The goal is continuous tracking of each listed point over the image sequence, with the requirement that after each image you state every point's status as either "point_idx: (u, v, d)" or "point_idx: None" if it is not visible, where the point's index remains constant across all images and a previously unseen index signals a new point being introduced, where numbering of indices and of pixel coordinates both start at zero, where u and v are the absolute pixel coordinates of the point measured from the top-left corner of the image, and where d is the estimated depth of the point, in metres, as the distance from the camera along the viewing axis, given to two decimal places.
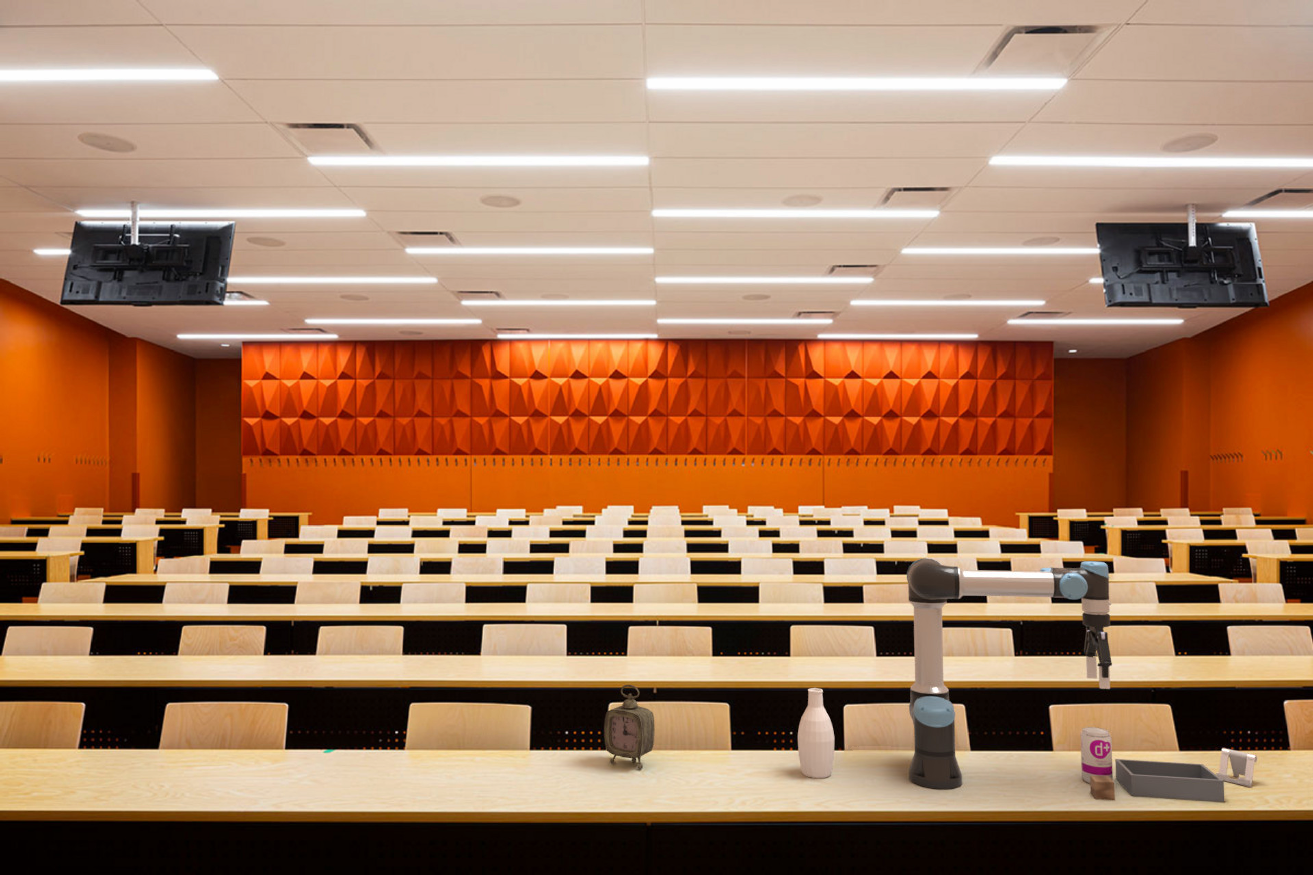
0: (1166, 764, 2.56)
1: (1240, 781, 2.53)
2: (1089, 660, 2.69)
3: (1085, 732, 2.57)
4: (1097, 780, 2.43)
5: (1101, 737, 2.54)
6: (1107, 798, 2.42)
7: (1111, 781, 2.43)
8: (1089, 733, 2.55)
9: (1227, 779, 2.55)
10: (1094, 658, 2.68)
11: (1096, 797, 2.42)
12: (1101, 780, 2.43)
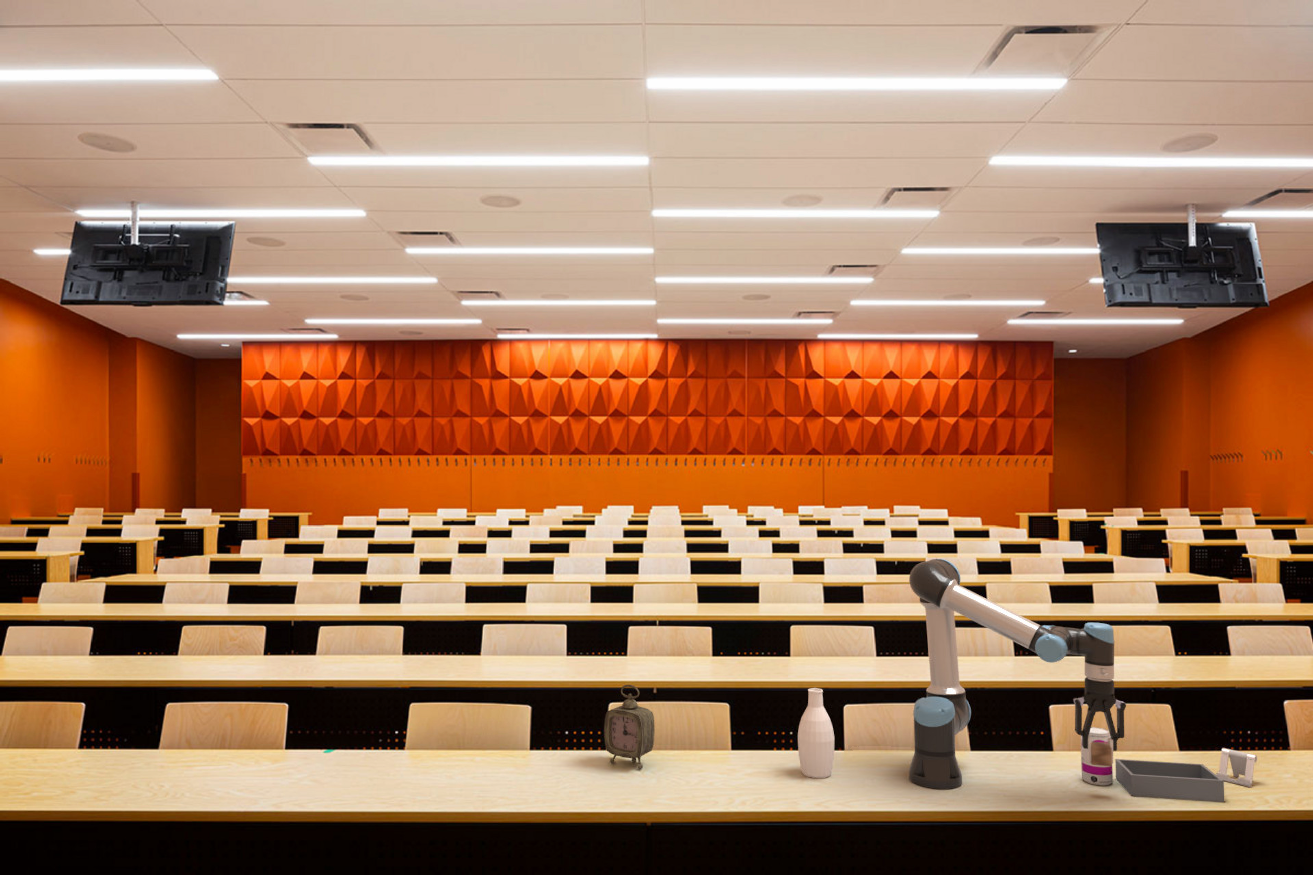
0: (1166, 764, 2.56)
1: (1240, 781, 2.53)
2: (1108, 741, 2.45)
3: None
4: (1094, 746, 2.44)
5: (1101, 737, 2.54)
6: (1104, 763, 2.43)
7: (1108, 747, 2.43)
8: (1089, 733, 2.55)
9: (1227, 779, 2.55)
10: (1109, 740, 2.44)
11: (1093, 762, 2.43)
12: (1098, 746, 2.44)
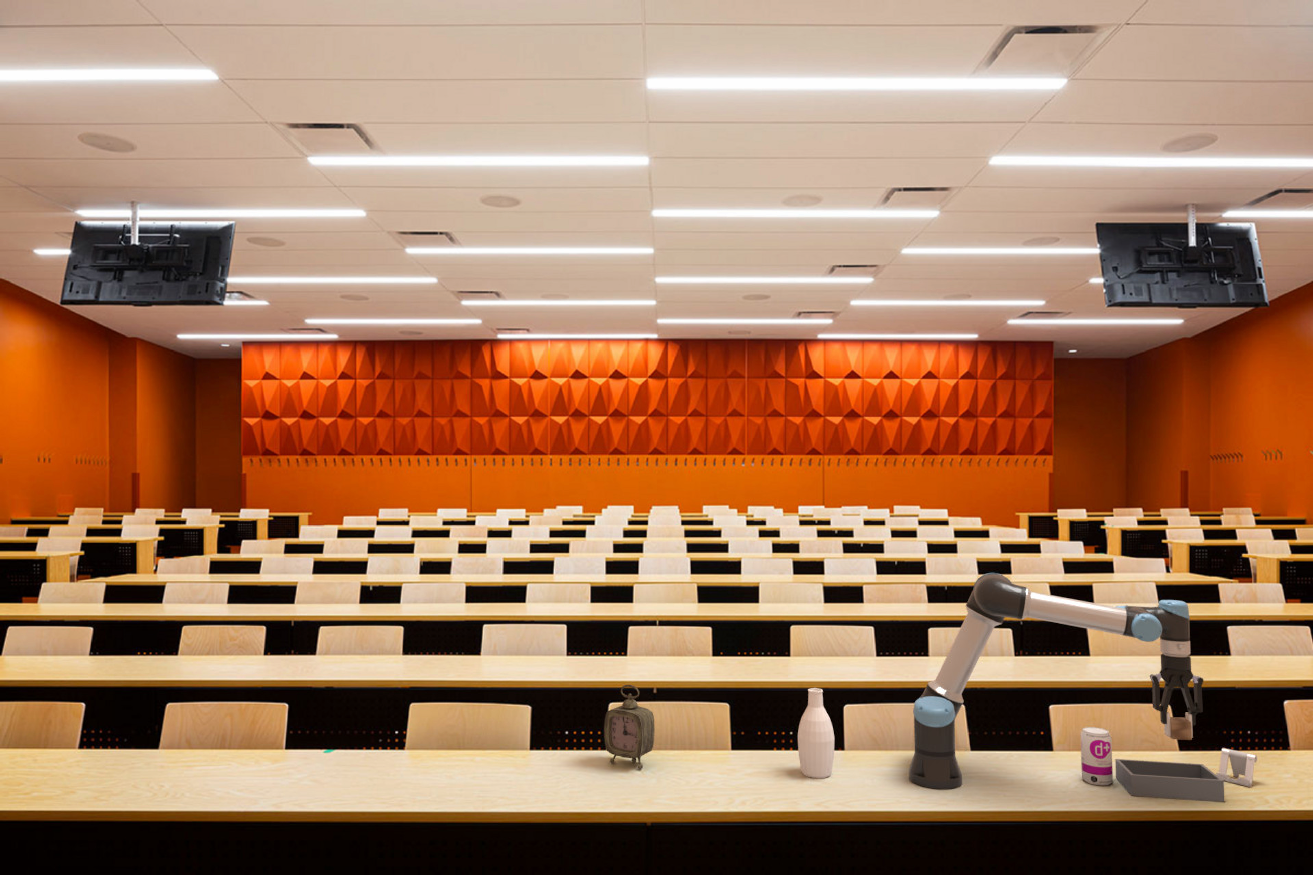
0: (1166, 764, 2.56)
1: (1240, 781, 2.53)
2: (1186, 716, 2.49)
3: (1085, 732, 2.57)
4: (1173, 720, 2.48)
5: (1101, 737, 2.54)
6: (1184, 738, 2.46)
7: (1187, 721, 2.47)
8: (1089, 733, 2.55)
9: (1227, 779, 2.55)
10: (1188, 715, 2.48)
11: (1173, 737, 2.47)
12: (1177, 720, 2.48)
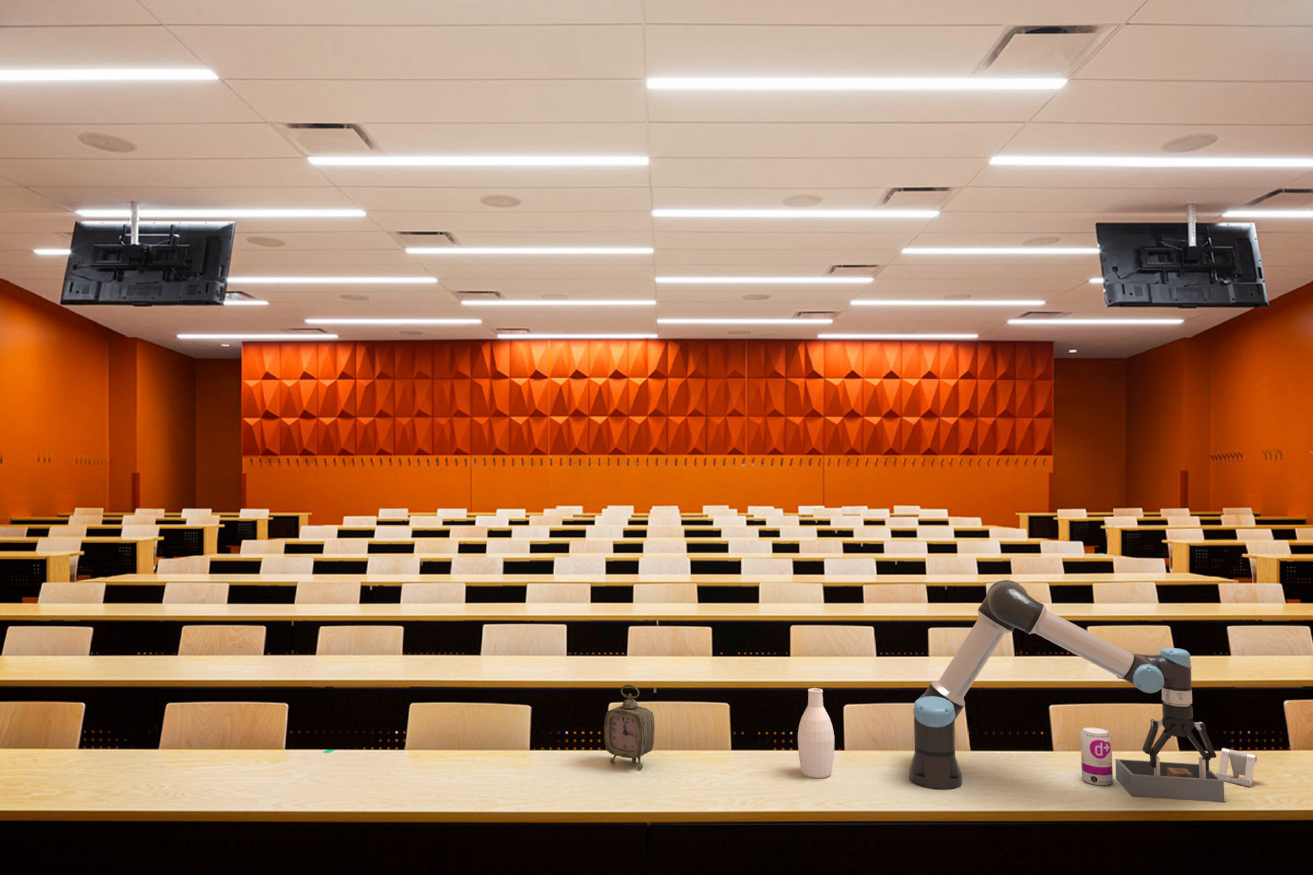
0: (1166, 764, 2.56)
1: (1240, 781, 2.53)
2: (1199, 761, 2.48)
3: (1085, 732, 2.57)
4: (1175, 772, 2.47)
5: (1101, 737, 2.54)
6: None
7: (1189, 773, 2.46)
8: (1089, 733, 2.55)
9: (1227, 779, 2.55)
10: (1201, 760, 2.47)
11: None
12: (1179, 772, 2.47)
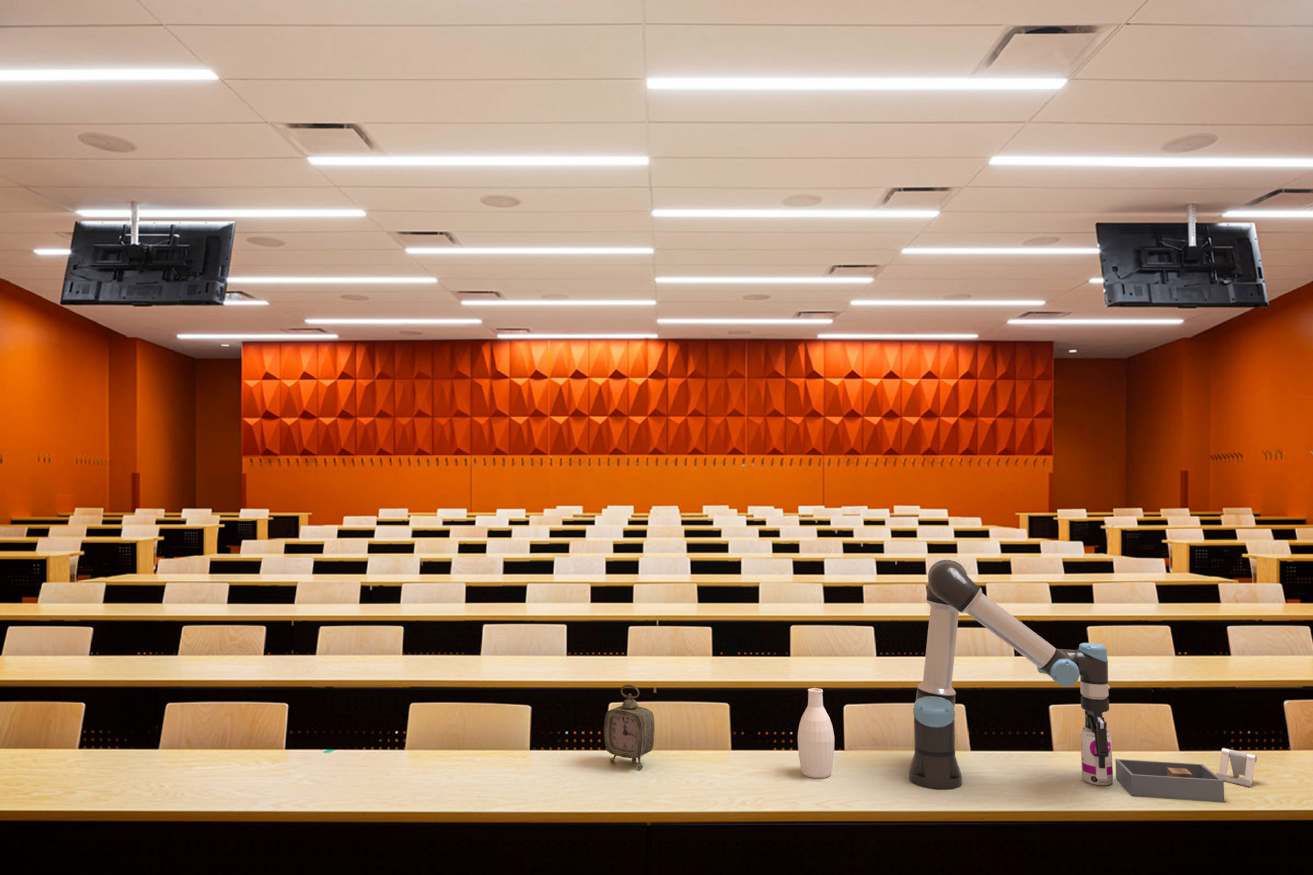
0: (1166, 764, 2.56)
1: (1240, 781, 2.53)
2: None
3: (1085, 732, 2.57)
4: (1175, 772, 2.47)
5: None
6: None
7: (1189, 773, 2.46)
8: (1089, 733, 2.55)
9: (1227, 779, 2.55)
10: None
11: None
12: (1179, 772, 2.47)
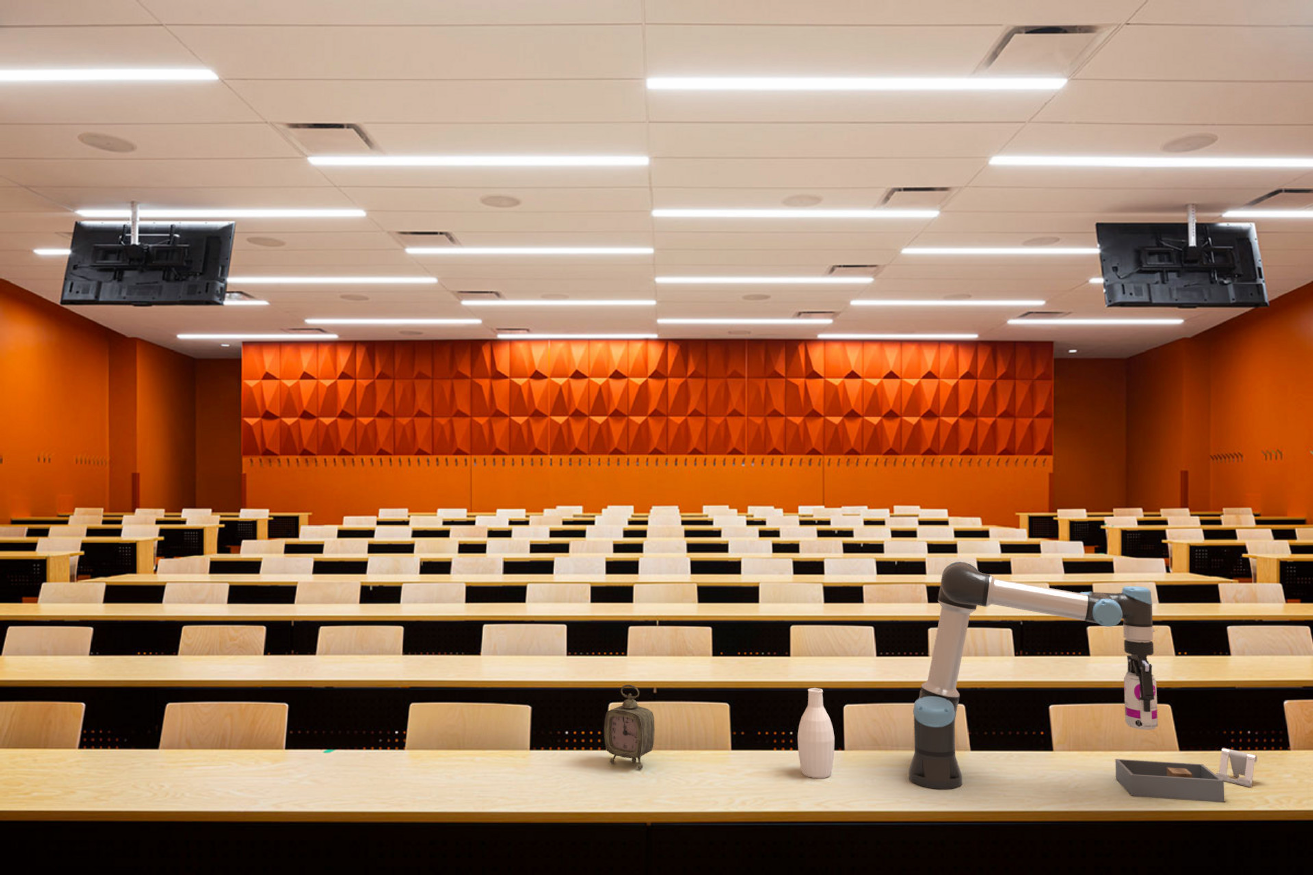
0: (1166, 764, 2.56)
1: (1240, 781, 2.53)
2: None
3: (1129, 676, 2.52)
4: (1175, 772, 2.47)
5: None
6: None
7: (1189, 773, 2.46)
8: (1133, 677, 2.51)
9: (1227, 779, 2.55)
10: None
11: None
12: (1179, 772, 2.47)
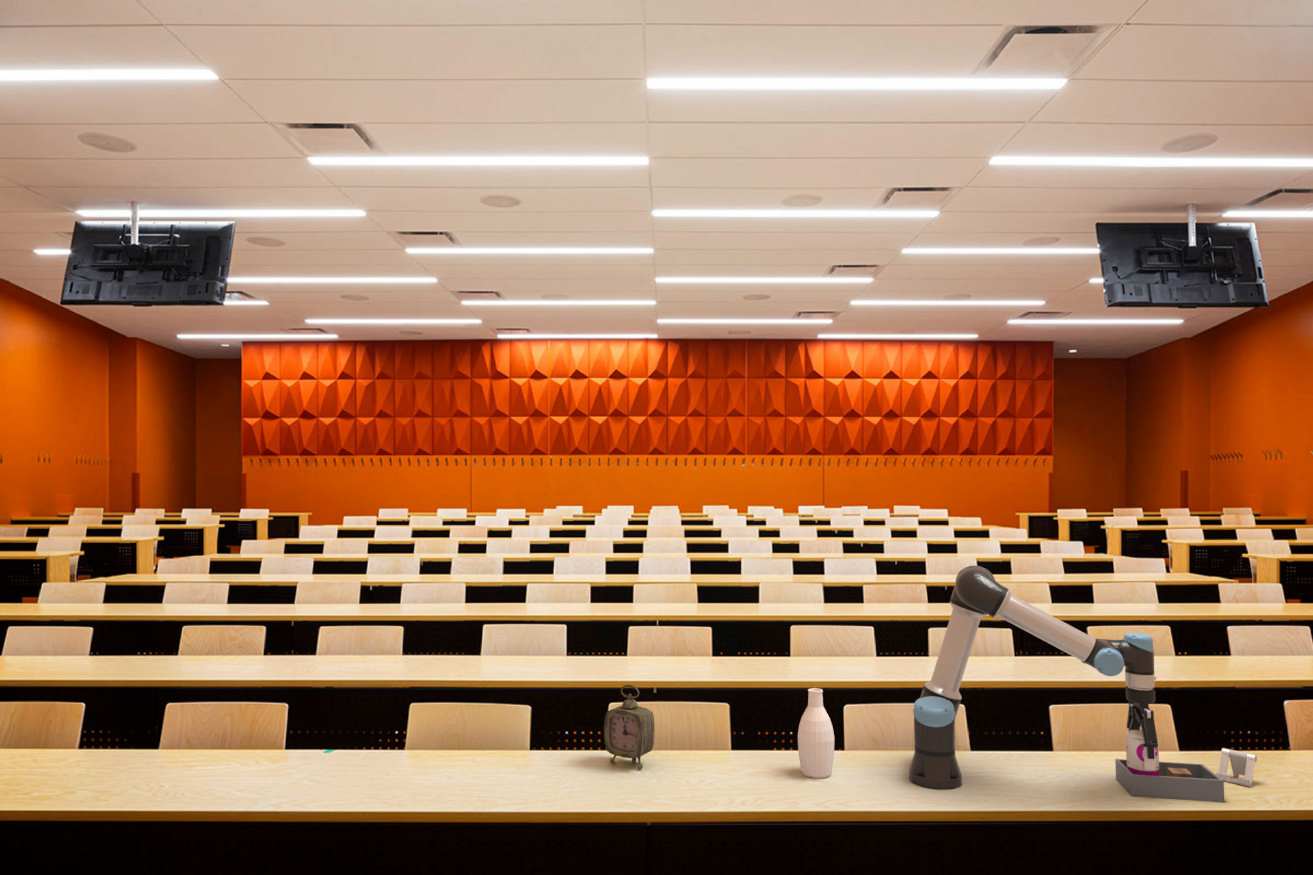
0: (1166, 764, 2.56)
1: (1240, 781, 2.53)
2: None
3: (1131, 735, 2.50)
4: (1175, 772, 2.47)
5: None
6: None
7: (1189, 773, 2.46)
8: (1136, 736, 2.49)
9: (1227, 779, 2.55)
10: None
11: None
12: (1179, 772, 2.47)
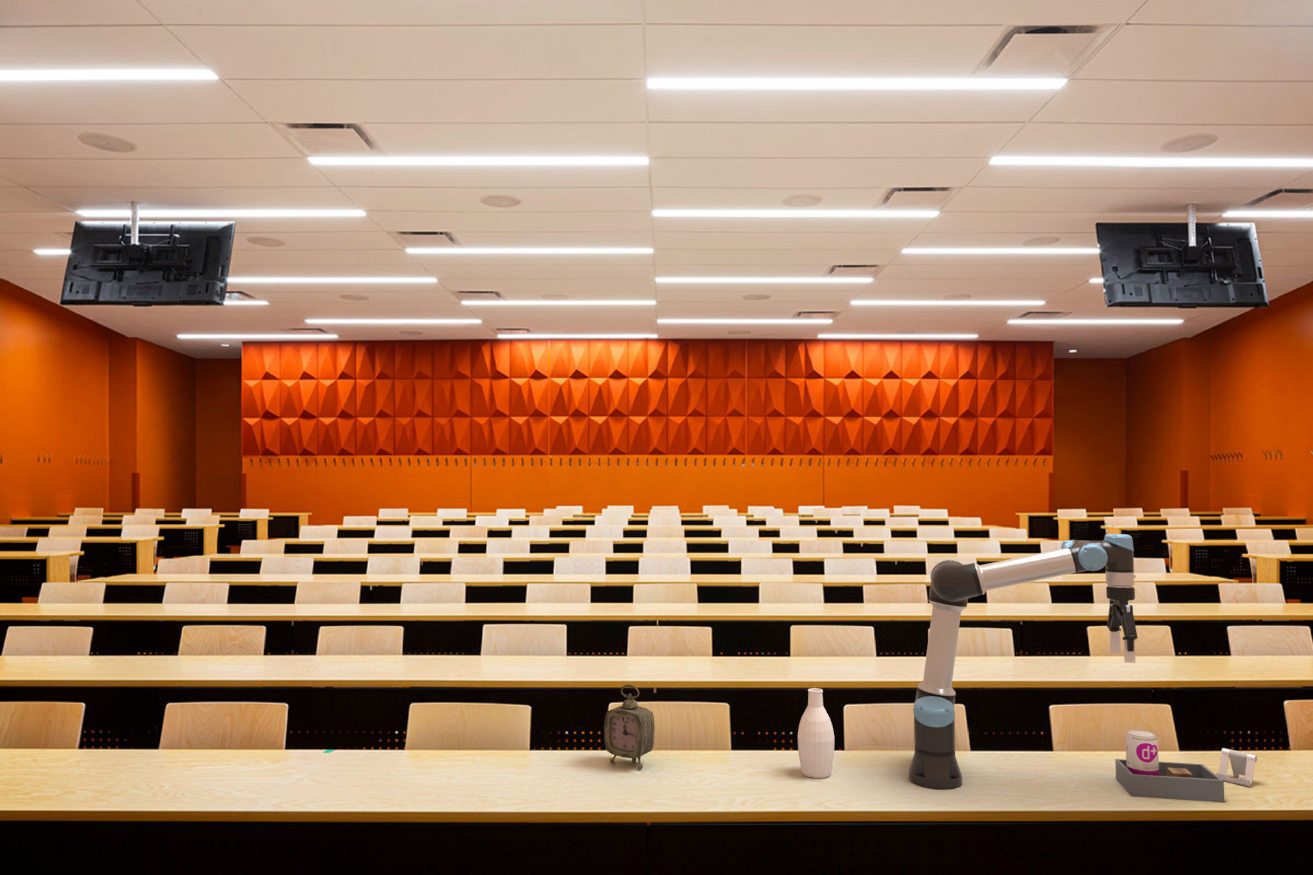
0: (1166, 764, 2.56)
1: (1240, 781, 2.53)
2: (1113, 635, 2.64)
3: (1131, 735, 2.50)
4: (1175, 772, 2.47)
5: (1148, 740, 2.48)
6: None
7: (1189, 773, 2.46)
8: (1135, 736, 2.49)
9: (1227, 779, 2.55)
10: (1118, 633, 2.63)
11: None
12: (1179, 772, 2.47)
